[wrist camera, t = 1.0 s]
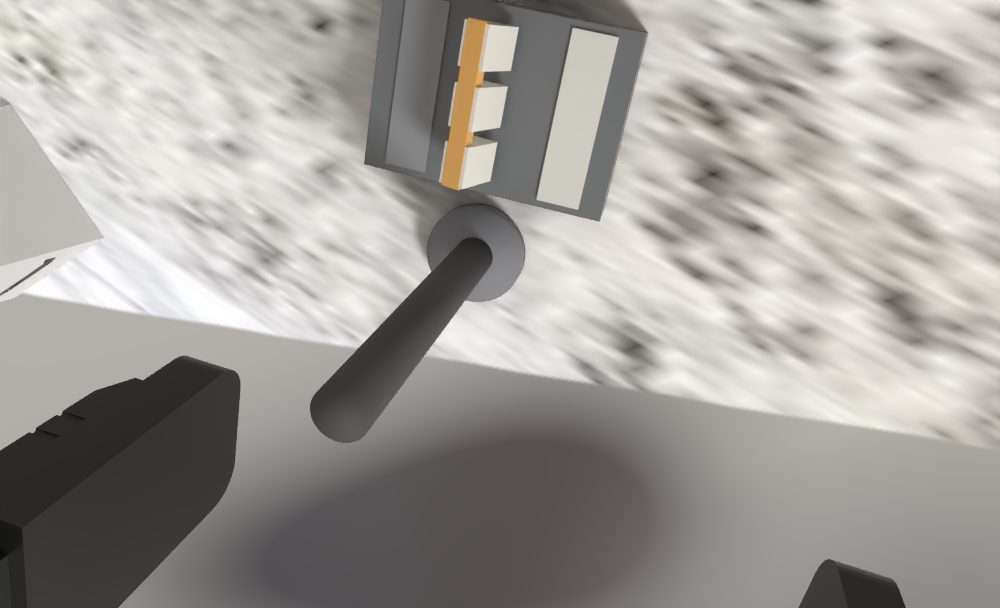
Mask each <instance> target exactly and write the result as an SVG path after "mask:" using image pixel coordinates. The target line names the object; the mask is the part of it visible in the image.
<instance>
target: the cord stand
mask: <svg viewBox="0 0 1000 608" xmlns="http://www.w3.org/2000/svg"><path fill="white" fill-rule="evenodd" d="M427 258H428V263H429V267H430V269H431V273H430V274H429V275H428V276H427V277H426V278H425V279H424V280H423V281H422V282H421V283H420V285H419V286H418V287H417V288H416V289H415V290H414V291H413V292H412V293H411V294H410V295H409V296H408V297H407V298H406V299H405V300H404V301H403V302H402V303H401V304H400V305H399V307H398V308H397V309H396V310H395V311H394V312H393V313H392V314H391V315H390V316H389V317H388V318H387V319H386V320H385V321H384V322H383V323H382V324H381V325H380V326H379V327H378V329H377V330H376V331H375V332H374V333H373V334H372V335H371V336H370V337H369V338H368V339H367V340H366V341H365V342H364V343H363V344H362V345H361V346H360V347H359V348H358V349H357V350H356V352H355V353H354V354H353V355H352V356H351V357H350V358H349V359H348V360H347V361H346V362H345V363H344V364H343V365H342V366H341V367H340V368H339V369H338V370H337V371H336V373H335V374H334V375H333V376H332V377H331V378H330V379H329V380H328V381H327V382H326V383H325V384H324V385H323V386H322V387H321V388H320V389H319V390H318V391H317V392H316V394H315V395H314V396H313V398H312V400H311V405H310V413H311V417H312V420H313V422H314V424H315V425H316V427H317V428H318V429H319V431H321V432H322V433H323V434H324V435H325V436H327V437H328V438H330V439H332V440H334V441H337V442H342V443H350V442H355V441H357V440H360V439H361V438H362V437H363V436H365V434H366V433H367V432H368V430H369V429H370V428H371V427H372V425H373V424H374V422H375V421H376V420H377V418H378V417H379V416H380V414H381V413H382V412H383V410H384V409H385V408H386V406H387V405H388V404H389V402H390V401H391V400H392V398H393V397H394V395H395V394H396V393H397V391H398V390H399V389H400V387H401V386H402V385H403V383H404V382H405V381H406V379H407V378H408V377H409V375H410V374H411V373H412V371H413V370H414V369H415V367H416V366H417V365H418V363H419V362H420V361H421V359H422V358H423V357H424V355H425V354H426V352H427V351H428V350H429V348H430V347H431V346H432V344H433V343H434V342H435V340H436V339H437V338H438V336H439V335H440V334H441V332H442V331H443V330H444V328H445V327H446V326H447V324H448V323H449V321H450V320H451V319H452V317H453V316H454V315H455V313H456V312H457V311H458V309H459V308H460V307H461V305H462V304H463V303H464V301H465V300H467V301H472V302H484V301H490V300H493V299H495V298H498V297H500V296H501V295H503V294H504V293H506V292H507V291H508V290H509V289H510V288H511V287H512V286H513V284H514V283H515V281H516V280H517V278H518V276H519V275H520V273H521V271H522V268H523V265H524V261H525V245H524V241H523V237H522V235H521V232H520V231H519V229H518V227H517V226H516V224H515V223H514V222H513V221H512V220H511V219H510V218H509V217H508V216H507V215H506V214H505V213H503V212H502V211H500V210H498V209H496V208H494V207H491V206H488V205H483V204H467V205H463V206H460V207H457V208H455V209H454V210H452V211H450V212H449V213H448V214H447V215H445V216H444V217H443V218H442V219H441V220H440V221H439V222H438V223H437V224H436V225H435V227H434V228H433V230H432V232H431V234H430V237H429V240H428V244H427Z"/></svg>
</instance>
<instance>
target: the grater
mask: <svg viewBox="0 0 1000 608" xmlns="http://www.w3.org/2000/svg"><path fill="white" fill-rule="evenodd" d="M103 238H104V236H103V235H102V234H101V232H100V231H99V229H98V228H97V226H96V225H95V224H94V222H93V221H92V219H91V218H90V216H89V215H88V214H87V212H86V211H85V209H84V208H83V206H82V205H81V204H80V202H79V201H78V199H77V198H76V196H75V195H74V194H73V192H72V191H71V189H70V188H69V186H68V185H67V184H66V182H65V181H64V179H63V178H62V176H61V175H60V174H59V172H58V171H57V169H56V168H55V166H54V165H53V164H52V162H51V161H50V159H49V158H48V157H47V155H46V154H45V152H44V151H43V149H42V148H41V147H40V145H39V144H38V142H37V141H36V139H35V138H34V137H33V135H32V134H31V132H30V131H29V129H28V128H27V127H26V125H25V124H24V122H23V121H22V119H21V118H20V117H19V115H18V114H17V112H16V111H15V109H14V108H13V107H12V105H11V104H9V105H5V106H2V107H0V302H1V301H5V300H9V299H12V298H14V297H16V296H18V295H19V294H21V293H22V292H24V291H25V290H27V289H28V288H30V287H31V286H33V285H34V284H36V283H37V282H38V281H40V280H41V279H43V278H44V277H46V276H47V275H49V274H50V273H52V272H53V271H55V270H56V269H58V268H59V267H61V266H62V265H64V264H65V263H67V262H68V261H70V260H71V259H73V258H74V257H76V256H77V255H79V254H80V253H82V252H83V251H85V250H86V249H88V248H89V247H91V246H92V245H94V244H95V243H97V242H98V241H100V240H101V239H103ZM55 257H56V258H55ZM51 258H55V259H54V260H53V261H52V262H51V263H50V264H48V265H47V266H45V267H44V268H42V269H41V270H39V271H38V272H36V273H35V274H33V275H32V276H30V277H29V278H27V279H26V280H24V281H23V282H22V283H20V284H19V285H17V286H16V287H14V288H13V289H11V290H10V291H8V290H7V289H8V288H9V287H11V286H12V285H14V284H15V283H17V282H18V281H19V280H21V279H22V278H24V277H25V276H27V275H28V274H30V273H31V272H33V271H34V270H35V269H37V268H38V267H40V266H41V265H43V264H44V261H45V260H47V259H51Z"/></svg>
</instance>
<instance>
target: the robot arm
mask: <svg viewBox="0 0 1000 608" xmlns="http://www.w3.org/2000/svg"><path fill="white" fill-rule="evenodd" d="M239 400H240V378H239V376H238V374H237V373H236V372H235V371H233V370H230V369H227V368H223V367H220V366H217V365H214V364H211V363H208V362H204V361H201V360H198V359H195V358H191V357H188V356H180V357H178V358H176V359H174V360H173V361H171V362H170V363H168V364H167V365H165V366H164V367H162V368H161V369H160V370H158V371H156V372H155V373H154V374H152V375H150V376H149V377H147V378H146V379H145V380H140V379H137V378H134V379H130V380H128V381H124V382H121V383H118V384H115V385H112V386H108V387H105V388H102V389H99V390H96V391H94V392H92V393H90V394H89V395H88V396H86V397H84V398H83V399H81V400H79V401H78V402H76V403H75V404H73V405H72V406H70V407H68V408H67V409H65V410H64V411H63V413H62V415H61V416H58V415H56V416H54V417H53V418H51V419H49V420H48V421H46V422H45V423H43V424H42V425H40V426H39V427H37V428H36V431H35V432H34V433H30V432H29V433H27V434H26V435H24V436H23V437H21V438H19V439H18V440H16V441H15V442H13V443H11V444H10V445H8V446H7V447H5V448H4V449H2V450H1V451H0V608H118V607H119V606H120V605H121V604H122V603H123V602H124V601H125V600H126V599H127V598H128V597H129V595H131V594H132V593H133V591H134V590H135V589H136V588H137V587H138V586H139V585H140V584H141V583H142V582H143V581H144V580H145V579H146V578H147V577H148V576H149V575H150V574H151V573H152V572H153V571H154V570H155V569H156V568H157V567H158V566H159V564H160V563H161V562H162V561H163V560H164V559H165V558H166V557H167V556H168V555H169V554H170V553H171V552H172V551H173V550H174V549H175V548H176V547H177V546H178V545H179V544H180V543H181V541H182V540H183V539H184V538H185V537H186V536H187V535H188V534H189V533H190V532H191V531H192V530H193V529H194V528H195V527H196V526H197V525H198V524H199V523H200V522H201V521H202V520H203V519H204V518H205V517H206V516H207V514H209V512H210V511H211V510H212V509H213V508H214V507H215V506H216V505H217V504H218V502H219V501H220V499H221V498H222V496H223V494H224V493H225V491H226V489H227V487H228V484H229V482H230V479H231V476H232V473H233V469H234V464H235V452H236V440H237V427H238V413H239ZM799 608H906V607H905V604H904V602H903V599H902V596H901V594H900V591H899V589H898V586H897V585H896V583H895V582H894V580H892V579H891V578H888V577H884V576H881V575H878V574H875V573H872V572H869V571H865V570H862V569H859V568H856V567H853V566H849V565H846V564H843V563H840V562H837V561H833V560H830V559H828V560H825V561H824V562H823V563H822V564H821V565H820V566H819V568H818V570H817V572H816V573H815V575H814V577H813V579H812V581H811V583H810V585H809V587H808V590H807V592H806V594H805V596H804V598H803V600H802V602H801V604H800V606H799Z"/></svg>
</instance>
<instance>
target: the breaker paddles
mask: <svg viewBox="0 0 1000 608" xmlns="http://www.w3.org/2000/svg"><path fill="white" fill-rule="evenodd" d="M518 29H519V27H516V26H511V25H507V24H503V23H498V22H492V21H485V20H481V19H476V18H468V19H465V21H464V27H463V34H462V40H461V46H460V53H459V59H458V66H460V72H459V78H458V82H455V84H454V90H453V97H452V103H451V109H450V116H449V122H448V126H451V128H450V135H449V140H448V141H445V147H444V154H443V160H442V166H441V173H440V179H439V182H440V183H442V185H443V186H446V187H449V188H452V189H455V190H461V189H465V188H468V187H472V186H475V185H479V184H482V183H486V182H489V181H490V180H491V175H492V169H493V164H494V159H495V153H496V148H497V142H495V141H492V140H488V139H485V138H482V137H478V136H473V135H474V132H477V131H483V130H489V129H495V128H500V126H501V121H502V115H503V110H504V105H505V99H506V94H507V89H508V86H504V85H501V84H497V83H493V82H489V81H485V80H484V81H483V77H484V72H492V71H511V67H512V62H513V56H514V51H515V45H516V40H517V35H518Z"/></svg>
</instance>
